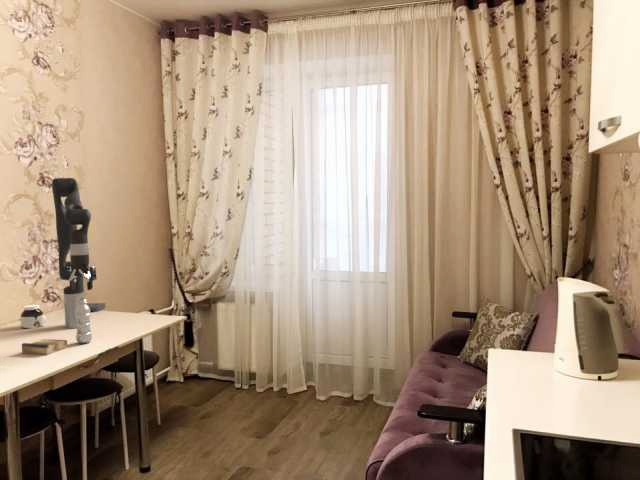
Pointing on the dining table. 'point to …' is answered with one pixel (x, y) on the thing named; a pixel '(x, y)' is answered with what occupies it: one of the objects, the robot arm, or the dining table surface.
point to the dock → (43, 346)
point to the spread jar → (32, 317)
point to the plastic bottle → (83, 321)
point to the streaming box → (96, 306)
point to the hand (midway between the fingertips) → (81, 289)
